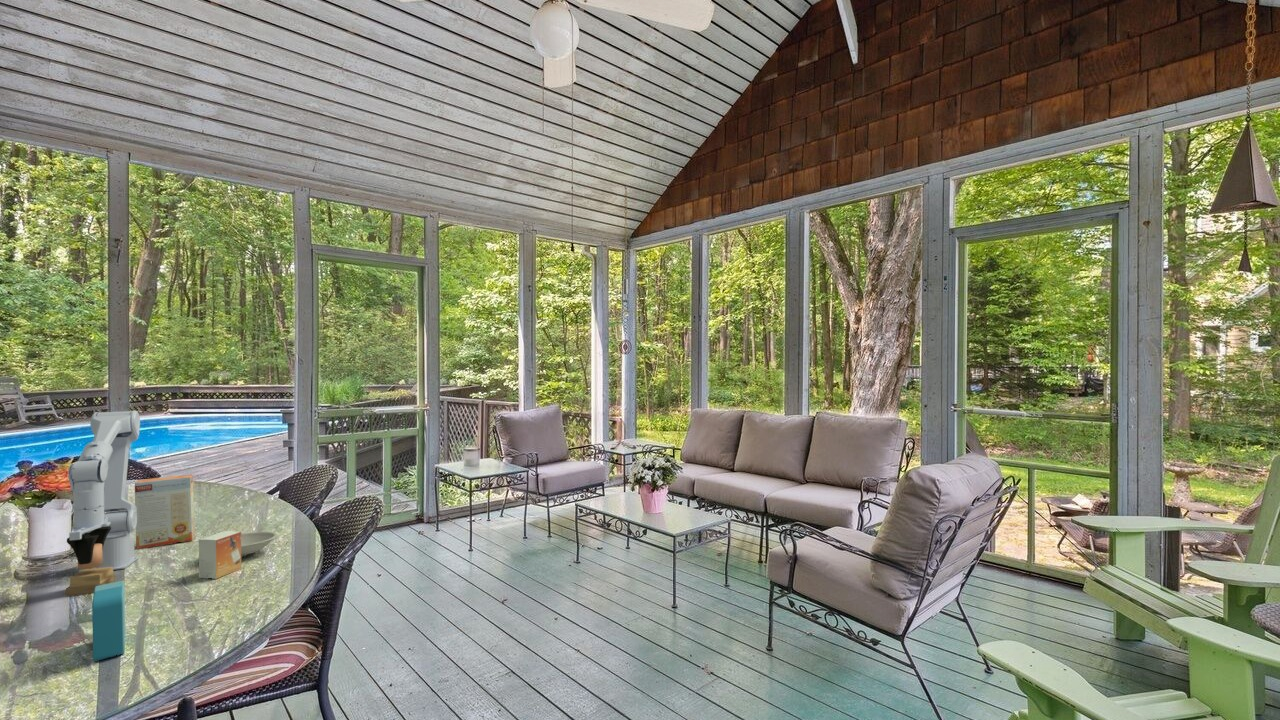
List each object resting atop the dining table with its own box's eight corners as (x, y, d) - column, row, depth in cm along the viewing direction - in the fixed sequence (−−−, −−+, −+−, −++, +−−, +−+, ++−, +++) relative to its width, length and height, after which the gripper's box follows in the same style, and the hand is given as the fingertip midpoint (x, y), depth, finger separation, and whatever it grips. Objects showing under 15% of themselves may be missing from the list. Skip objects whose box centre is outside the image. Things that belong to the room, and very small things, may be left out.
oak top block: (84, 578, 150) (84, 569, 150) (113, 575, 152) (113, 566, 152) (70, 587, 144) (70, 577, 144) (99, 584, 146) (99, 574, 146)
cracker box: (195, 536, 190) (193, 473, 190) (192, 541, 185) (191, 476, 185) (139, 544, 183) (138, 478, 183) (135, 549, 178) (134, 482, 178)
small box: (215, 579, 153) (215, 540, 153) (198, 578, 154) (197, 539, 154) (242, 568, 161) (241, 531, 161) (225, 567, 162) (224, 530, 162)
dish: (278, 544, 182) (278, 528, 182) (276, 557, 169) (276, 540, 169) (209, 554, 173) (208, 538, 173) (202, 569, 160) (201, 551, 160)
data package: (96, 641, 120) (95, 584, 120) (125, 634, 123) (124, 578, 123) (93, 664, 111) (91, 602, 111) (124, 656, 114) (123, 595, 114)
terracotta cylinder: (83, 564, 149) (82, 544, 149) (106, 561, 151) (105, 542, 151) (73, 570, 145) (73, 550, 145) (97, 567, 146) (97, 547, 146)
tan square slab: (80, 588, 150) (80, 578, 150) (114, 583, 152) (114, 574, 152) (66, 598, 143) (65, 588, 143) (102, 593, 146) (101, 584, 146)
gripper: (95, 512, 142) (96, 567, 142) (121, 499, 156) (122, 549, 156) (57, 515, 140) (58, 571, 140) (87, 502, 153) (89, 553, 153)
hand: (90, 560), depth 148 cm, fingers closed on terracotta cylinder, 4 cm apart
